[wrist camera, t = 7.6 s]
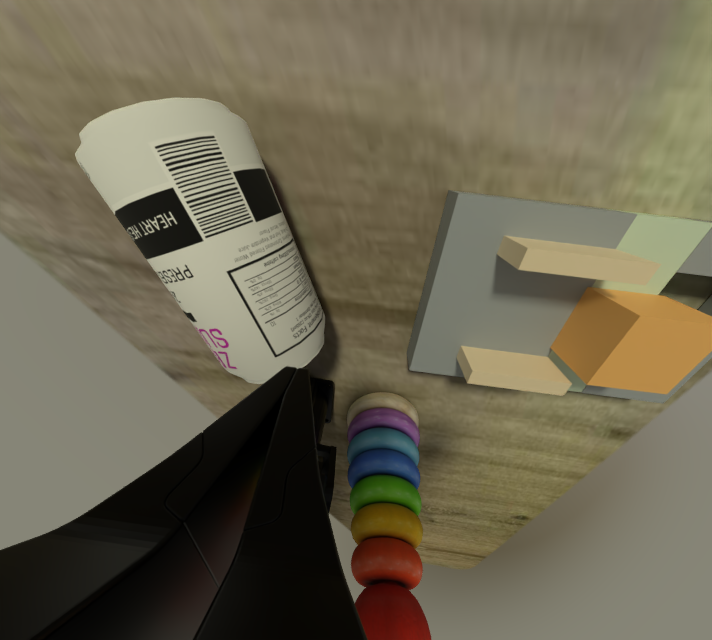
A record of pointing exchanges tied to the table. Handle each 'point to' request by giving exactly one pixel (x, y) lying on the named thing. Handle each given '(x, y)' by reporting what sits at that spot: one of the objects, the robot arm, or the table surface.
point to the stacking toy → (386, 515)
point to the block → (633, 340)
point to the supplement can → (209, 228)
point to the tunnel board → (539, 285)
